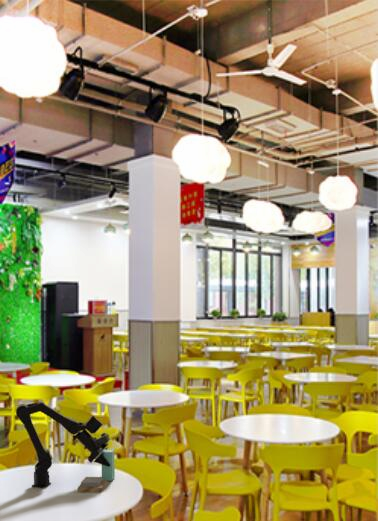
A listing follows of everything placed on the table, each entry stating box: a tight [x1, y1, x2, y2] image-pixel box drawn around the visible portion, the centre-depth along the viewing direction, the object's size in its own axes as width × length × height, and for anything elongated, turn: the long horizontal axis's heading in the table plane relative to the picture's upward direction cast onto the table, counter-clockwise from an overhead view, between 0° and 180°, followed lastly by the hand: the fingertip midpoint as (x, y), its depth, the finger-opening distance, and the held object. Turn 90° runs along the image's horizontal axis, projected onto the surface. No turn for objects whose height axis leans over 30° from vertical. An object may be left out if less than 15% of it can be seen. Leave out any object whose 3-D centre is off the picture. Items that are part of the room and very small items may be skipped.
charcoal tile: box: [80, 476, 103, 487], centre depth 263 cm, size 8×8×2 cm
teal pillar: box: [101, 449, 116, 482], centre depth 275 cm, size 5×5×13 cm
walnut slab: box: [77, 480, 109, 493], centre depth 263 cm, size 11×11×2 cm
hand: (110, 464), depth 275 cm, fingers closed on teal pillar, 5 cm apart
